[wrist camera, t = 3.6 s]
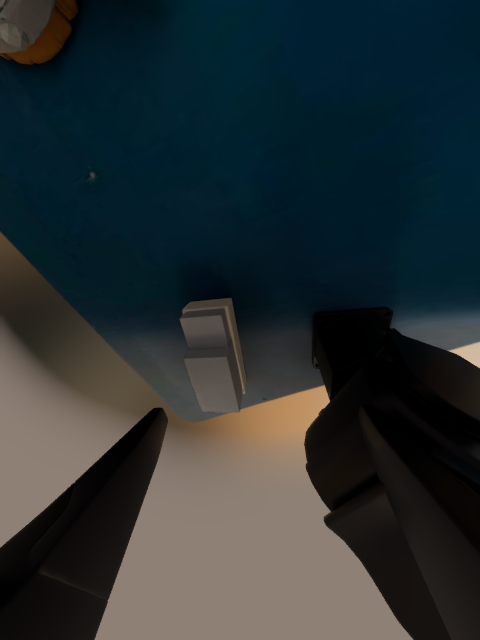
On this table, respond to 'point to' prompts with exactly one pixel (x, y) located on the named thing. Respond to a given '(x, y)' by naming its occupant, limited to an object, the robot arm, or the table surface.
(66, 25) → the mug
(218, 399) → the grey stepped blocks
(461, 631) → the robot arm
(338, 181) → the table surface
